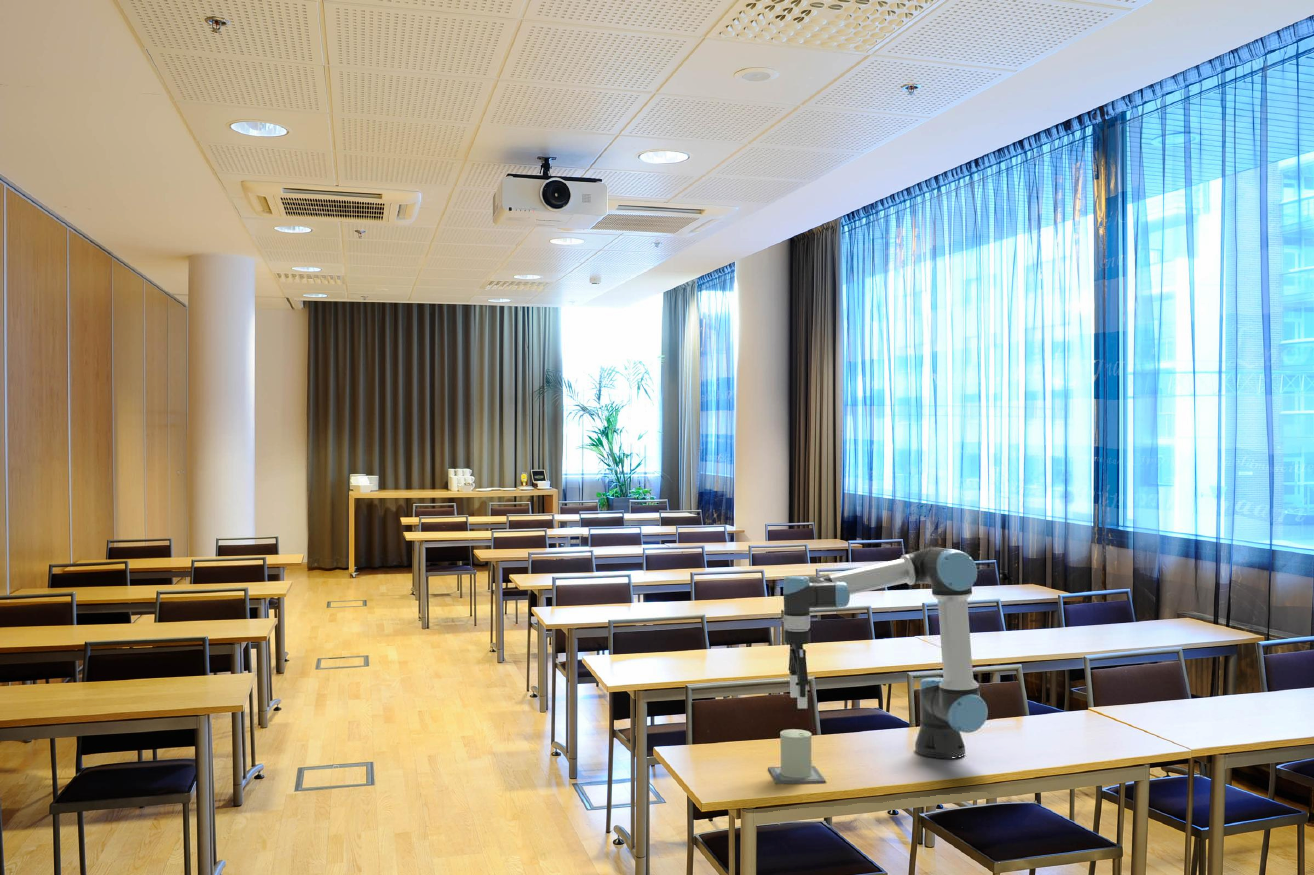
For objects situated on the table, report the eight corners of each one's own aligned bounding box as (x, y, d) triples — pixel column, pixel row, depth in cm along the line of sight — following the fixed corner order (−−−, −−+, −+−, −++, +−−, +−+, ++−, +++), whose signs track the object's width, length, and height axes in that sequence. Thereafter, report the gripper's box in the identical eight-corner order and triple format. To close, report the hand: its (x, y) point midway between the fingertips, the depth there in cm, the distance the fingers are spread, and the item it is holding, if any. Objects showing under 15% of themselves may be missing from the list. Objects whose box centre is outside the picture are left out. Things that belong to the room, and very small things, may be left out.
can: (796, 780, 267) (795, 737, 267) (773, 772, 274) (773, 730, 275) (819, 774, 272) (818, 732, 273) (796, 766, 279) (796, 725, 280)
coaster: (814, 768, 280) (814, 765, 280) (825, 782, 266) (825, 780, 266) (768, 769, 280) (768, 766, 280) (776, 784, 266) (776, 781, 266)
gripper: (778, 623, 288) (779, 693, 287) (790, 636, 263) (792, 713, 262) (802, 622, 288) (804, 692, 287) (817, 636, 264) (819, 712, 263)
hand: (798, 702), depth 275 cm, fingers open, 13 cm apart
